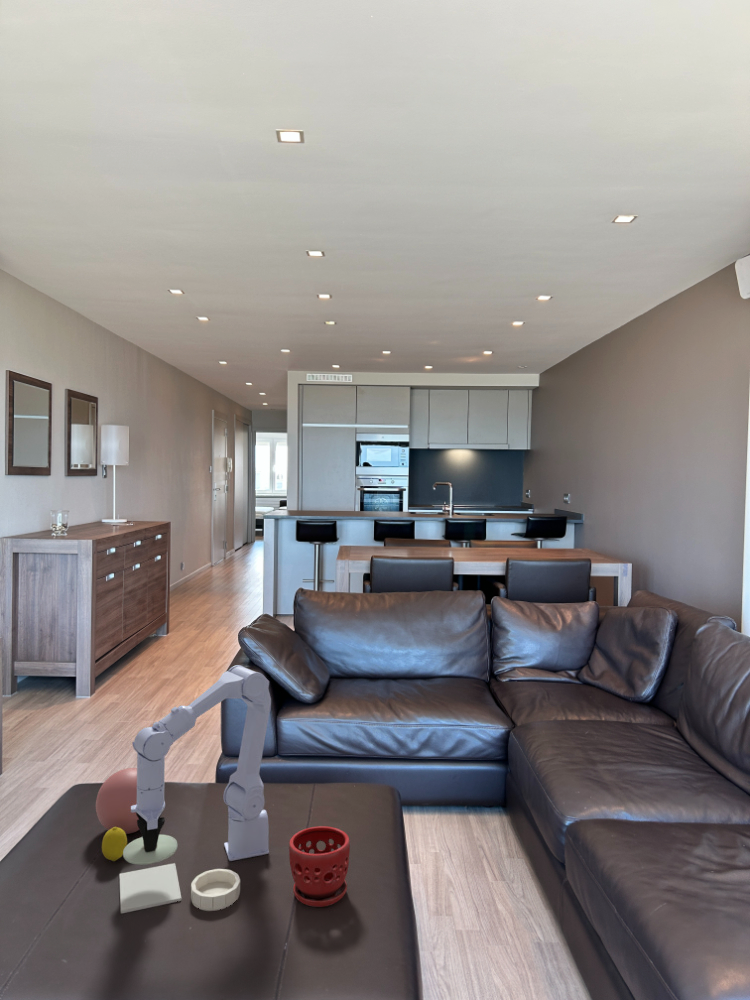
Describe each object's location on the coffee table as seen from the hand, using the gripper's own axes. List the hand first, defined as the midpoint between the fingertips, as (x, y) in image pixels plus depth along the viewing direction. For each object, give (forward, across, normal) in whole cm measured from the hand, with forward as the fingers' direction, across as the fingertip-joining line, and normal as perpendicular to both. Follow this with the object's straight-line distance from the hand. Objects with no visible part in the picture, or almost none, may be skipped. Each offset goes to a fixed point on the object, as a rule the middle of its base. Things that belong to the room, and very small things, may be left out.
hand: (149, 846), depth 143 cm
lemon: (+9, -14, -7) cm, 18 cm away
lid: (+1, 0, 0) cm, 1 cm away
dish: (+9, +8, +13) cm, 18 cm away
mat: (+9, 0, 0) cm, 9 cm away
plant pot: (+9, +15, +34) cm, 38 cm away
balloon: (+9, -30, -3) cm, 32 cm away
